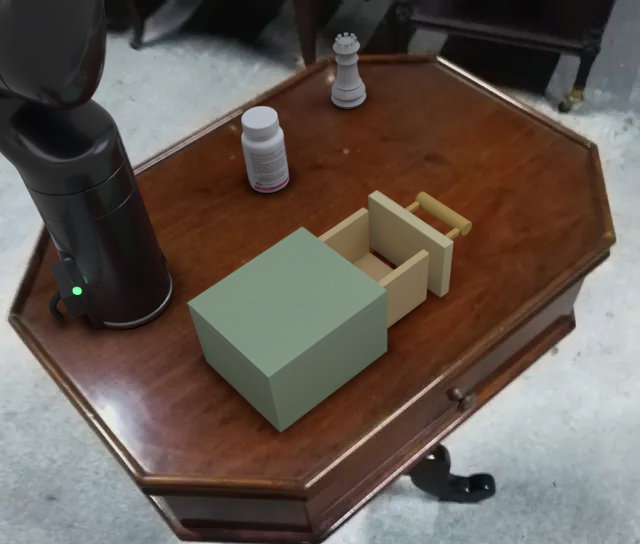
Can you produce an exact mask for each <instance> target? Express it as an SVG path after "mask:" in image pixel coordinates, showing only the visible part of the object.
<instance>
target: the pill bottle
mask: <svg viewBox="0 0 640 544" xmlns="http://www.w3.org/2000/svg"><path fill="white" fill-rule="evenodd" d="M240 121H241V127H242V133H241V136H240V137H241V146H242V147H241V148H242V152H243V156H244V162H245V168H246V173H247V178H248V182H249V185H250V186H251V188H252V189H253V190H255V191H257V192H259V193H264V194H270V193H275V192H278V191H280V190H282V189H283V188H285V187H286V186H287V185H288V183H289V181H290V173H289V172H290V171H289V164H288V157H287V150H286V142H285V134H284V130H283V129H282V127H281V126H280V121H279V116H278V113H277V111H276V110H275V109H274V108H272V107H271V106H265V105H260V106H254V107H251V108H249V109H247V110H245V112H243V114H242V115H241V120H240Z"/></svg>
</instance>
